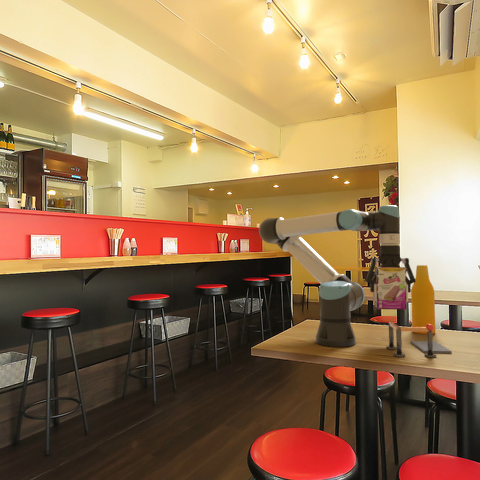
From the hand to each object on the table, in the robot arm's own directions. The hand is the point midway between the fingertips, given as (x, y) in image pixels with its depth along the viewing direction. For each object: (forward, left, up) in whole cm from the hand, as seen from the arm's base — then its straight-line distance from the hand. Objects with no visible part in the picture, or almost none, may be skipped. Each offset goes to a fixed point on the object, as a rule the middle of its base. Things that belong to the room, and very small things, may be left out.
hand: (390, 300), depth 153 cm
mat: (+11, -9, -16) cm, 22 cm away
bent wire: (+2, -16, -16) cm, 23 cm away
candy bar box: (0, 0, -3) cm, 3 cm away
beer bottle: (+18, +19, -16) cm, 31 cm away
